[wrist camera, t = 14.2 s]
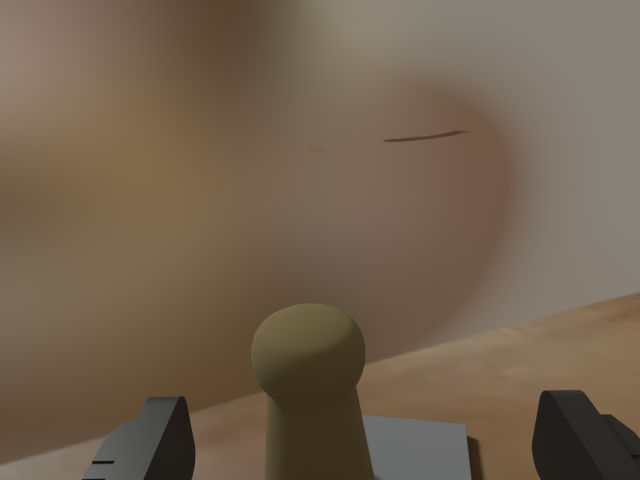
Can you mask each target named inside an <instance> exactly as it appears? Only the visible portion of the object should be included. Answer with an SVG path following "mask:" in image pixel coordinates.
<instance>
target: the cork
mask: <svg viewBox="0 0 640 480" xmlns="http://www.w3.org/2000/svg"><path fill="white" fill-rule="evenodd" d="M251 358H252V365H253V369H254V373H255V376H256V379H257V381H258V383H259V385H260V387H261V388H262V389H263V390H264V391H265V392H266V393H267V394H268V395H267V429H266V464H265V480H375V477H374V473H373V468H372V463H371V458H370V453H369V448H368V443H367V438H366V433H365V428H364V424H363V419H362V414H361V409H360V404H359V399H358V394H357V389H356V385H357V383H358V382H359V379H360V377H361V375H362V372H363V368H364V365H365V344H364V338H363V335H362V332H361V330H360V328H359V327H358V325H357V324H356V323H355V321H354V320H353V319H352V318H351V316H350V315H349V314H347V313H346V312H344V311H342V310H341V309H338V308H335V307H332V306H329V305H324V304H315V303H311V304H299V305H294V306H290V307H287V308H285V309H282V310H279V311H277V312H276V313H274V314H273V315H271V316H269V317H268V318H266V319H265V320H264V321H263V323H262V324H261V325H260V326H259V328H258V330H257V332H256V334H255V336H254V340H253V343H252V350H251Z"/></svg>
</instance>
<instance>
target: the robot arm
mask: <svg viewBox="0 0 640 480" xmlns="http://www.w3.org/2000/svg"><path fill="white" fill-rule="evenodd" d="M532 453H533V459H534V464H535V467H536V470H537V473H538V475H539V477H540V479H541V480H640V438H639V437H638V436H637V435H636V433H635V432H633V431H632V430H631V429H629V428H628V427H627V426H625V425H624V424H623V423H621V422H620V421H619V420H617V419H616V418H615V417H613V416H612V415H611V414H605V415H600V414H599V412H598V411H597V409H596V408H595V407H594V405H593V404H592V403H591V401H590V400H589V398H588V397H587V396H586V395H585V393H584V392H582V391H581V390H549V391H543V392H542V394H541V396H540V400H539V406H538V412H537V417H536V423H535V429H534V435H533V441H532ZM194 466H195V444H194V438H193V433H192V428H191V423H190V418H189V413H188V407H187V403H186V400H185V398H184V397H183V396H173V397H172V396H171V397H150V398H148V399H147V401H146V403H145V404H144V406H143V408H142V410H141V412H140V414H139V416H138V418H137V419H136V421H124V422H123V423H122V424H121V425H120V426H119V427H118V428H116V429H115V430H114V431H113V432H112V433H111V434H110V435H109V436H108V437H107V438H106V439H105V440H104V441H103V443H102V445H101V446H100V448H99V450H98V452H97V453H96V455H95V457H94V459H93V460H92V465H89V467H88V469H87V471H86V472H85V474H84V476H83V478H82V480H191V479H192V476H193V472H194Z"/></svg>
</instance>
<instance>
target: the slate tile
mask: <svg viewBox="0 0 640 480" xmlns="http://www.w3.org/2000/svg"><path fill="white" fill-rule="evenodd" d="M362 419H363V424H364V428H365V433H366V438H367V443H368V448H369V453H370V458H371V463H372V468H373V473H374V477H375V480H471V472H470V463H469V454H468V445H467V436H466V427H465V424H457V423H446V422H435V421H424V420H414V419H403V418H392V417H381V416H370V415H362Z"/></svg>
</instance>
